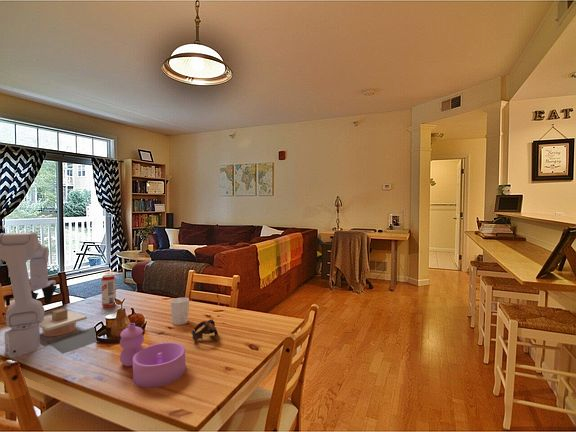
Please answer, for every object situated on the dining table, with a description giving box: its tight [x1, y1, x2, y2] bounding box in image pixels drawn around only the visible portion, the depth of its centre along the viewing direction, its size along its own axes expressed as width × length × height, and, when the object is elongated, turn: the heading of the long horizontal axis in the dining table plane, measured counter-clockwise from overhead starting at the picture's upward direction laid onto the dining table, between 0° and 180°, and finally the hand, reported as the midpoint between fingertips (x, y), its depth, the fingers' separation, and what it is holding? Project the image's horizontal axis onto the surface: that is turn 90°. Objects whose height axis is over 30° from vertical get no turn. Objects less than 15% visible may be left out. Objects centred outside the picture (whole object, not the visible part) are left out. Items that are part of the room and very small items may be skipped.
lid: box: [39, 307, 88, 331], centre depth 127 cm, size 14×14×4 cm
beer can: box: [100, 274, 117, 309], centre depth 158 cm, size 6×6×16 cm
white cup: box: [169, 297, 190, 326], centre depth 137 cm, size 8×8×10 cm
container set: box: [119, 322, 187, 389], centre depth 98 cm, size 25×15×13 cm, turn 62°
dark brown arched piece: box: [191, 319, 220, 342], centre depth 121 cm, size 12×10×8 cm
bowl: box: [41, 322, 77, 337], centre depth 127 cm, size 11×11×4 cm
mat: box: [46, 326, 99, 354], centre depth 120 cm, size 18×16×1 cm
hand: (40, 306), depth 128 cm, fingers open, 7 cm apart
